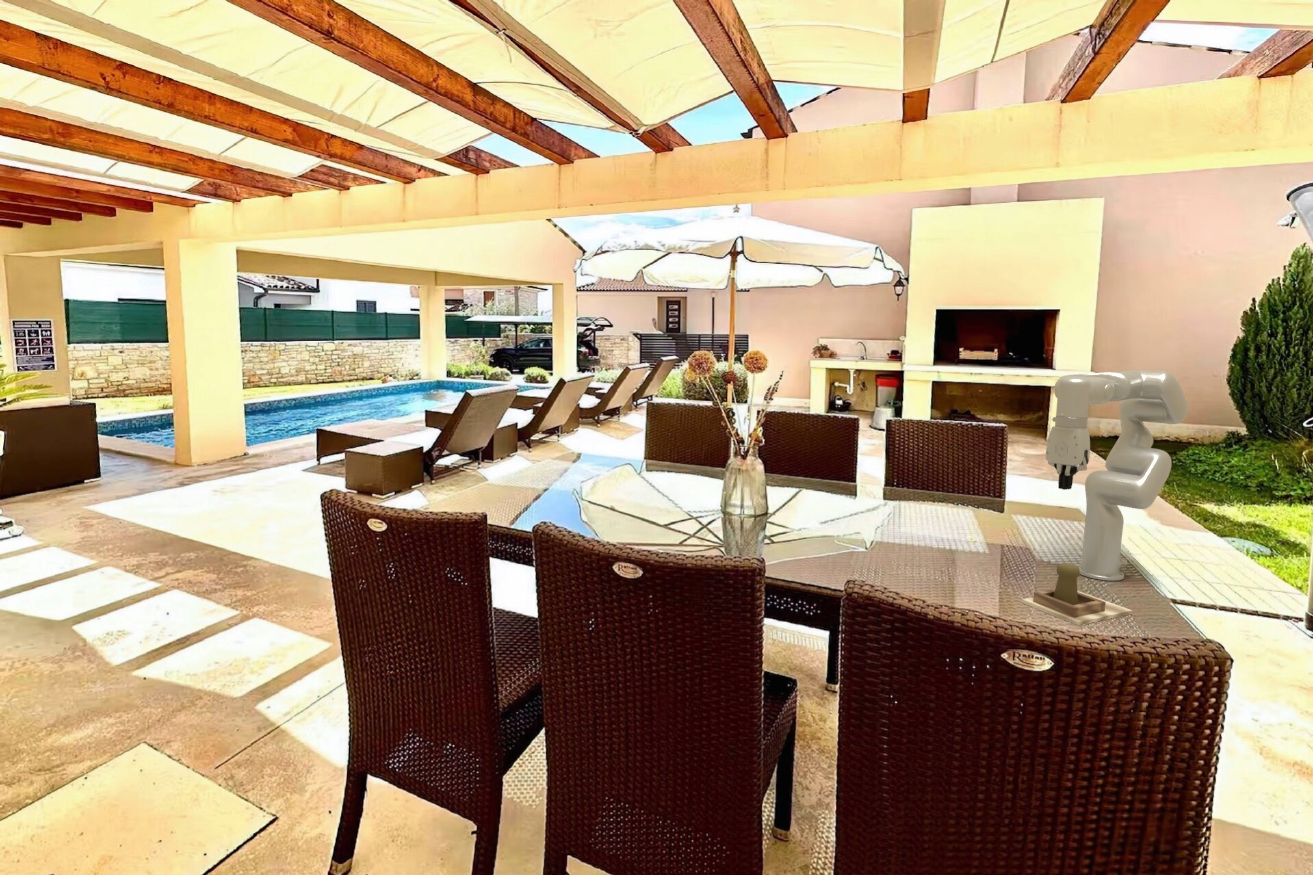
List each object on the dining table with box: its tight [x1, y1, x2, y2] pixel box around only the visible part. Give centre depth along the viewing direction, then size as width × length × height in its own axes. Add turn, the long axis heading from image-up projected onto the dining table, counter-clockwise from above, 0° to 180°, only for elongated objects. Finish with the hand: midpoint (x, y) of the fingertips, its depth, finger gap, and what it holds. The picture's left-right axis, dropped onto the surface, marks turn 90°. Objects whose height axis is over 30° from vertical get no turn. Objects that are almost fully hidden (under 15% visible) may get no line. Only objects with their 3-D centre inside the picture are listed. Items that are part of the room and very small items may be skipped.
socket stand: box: [1021, 588, 1133, 627], centre depth 179 cm, size 20×16×4 cm
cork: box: [1053, 562, 1081, 605], centre depth 178 cm, size 6×6×11 cm
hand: (1064, 488), depth 189 cm, fingers closed
